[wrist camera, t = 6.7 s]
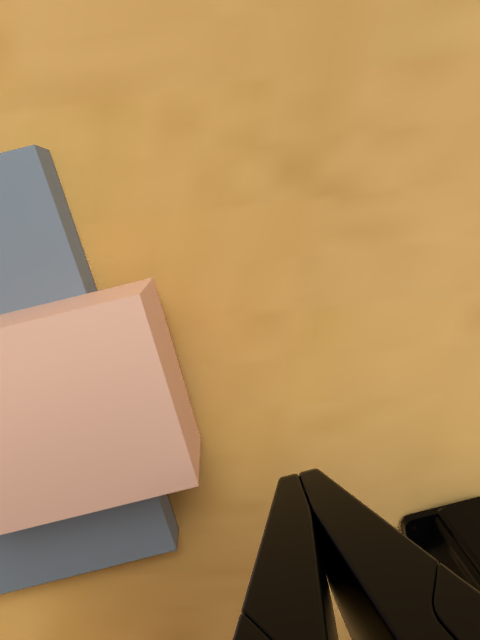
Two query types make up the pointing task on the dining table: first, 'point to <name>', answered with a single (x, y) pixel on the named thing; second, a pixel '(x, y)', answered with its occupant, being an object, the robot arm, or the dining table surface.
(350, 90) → the dining table surface
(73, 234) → the mat
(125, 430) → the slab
